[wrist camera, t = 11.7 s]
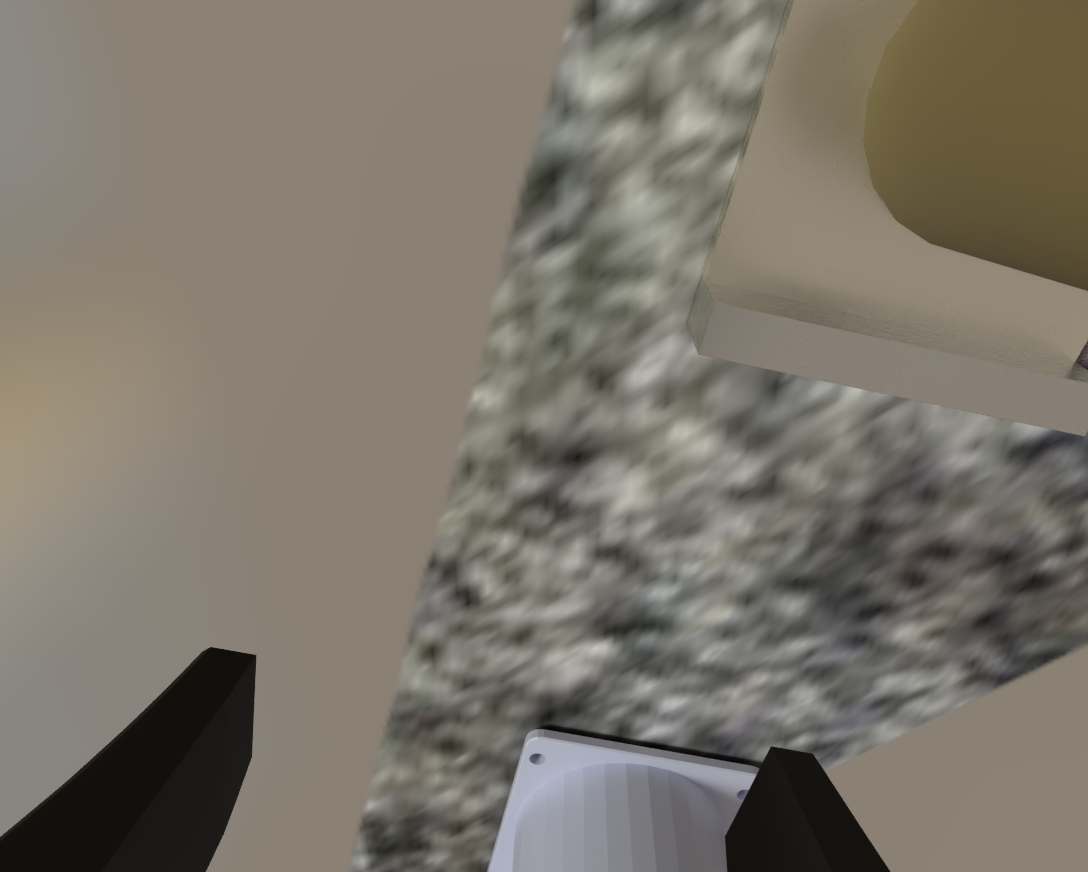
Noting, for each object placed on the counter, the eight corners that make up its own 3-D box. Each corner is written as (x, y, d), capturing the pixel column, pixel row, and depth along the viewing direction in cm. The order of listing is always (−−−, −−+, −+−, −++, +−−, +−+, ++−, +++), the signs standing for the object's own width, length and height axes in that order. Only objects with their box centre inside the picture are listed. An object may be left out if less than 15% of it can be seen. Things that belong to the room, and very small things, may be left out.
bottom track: (1037, 397, 19) (1084, 436, 18) (686, 322, 19) (698, 354, 17) (1454, -328, 13) (1592, -381, 11) (939, -479, 12) (1000, -561, 11)
